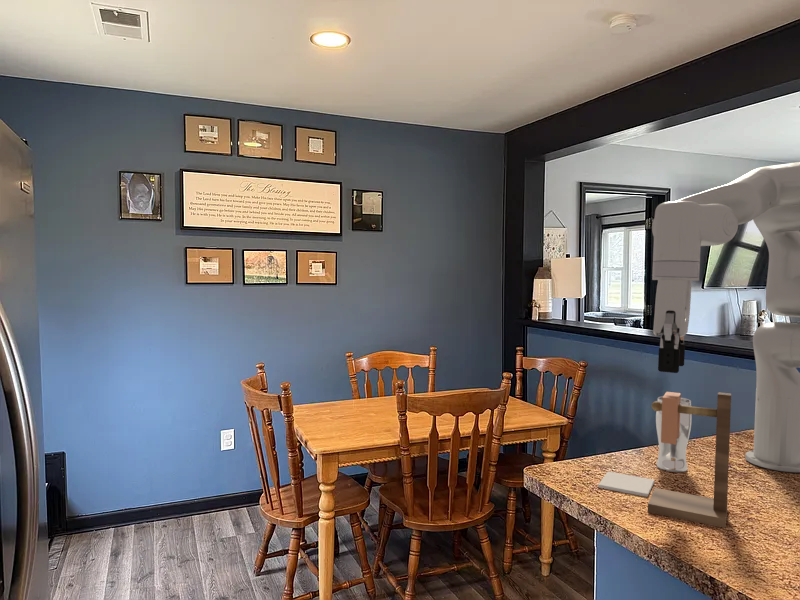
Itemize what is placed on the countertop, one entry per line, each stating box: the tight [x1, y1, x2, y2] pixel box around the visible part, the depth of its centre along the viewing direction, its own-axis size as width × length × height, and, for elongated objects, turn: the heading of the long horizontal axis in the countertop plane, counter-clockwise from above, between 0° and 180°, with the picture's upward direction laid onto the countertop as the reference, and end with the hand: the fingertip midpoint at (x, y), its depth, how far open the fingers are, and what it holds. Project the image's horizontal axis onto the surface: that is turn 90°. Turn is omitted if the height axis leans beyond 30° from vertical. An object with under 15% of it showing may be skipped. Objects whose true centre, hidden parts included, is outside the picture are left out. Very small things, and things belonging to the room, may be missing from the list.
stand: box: [647, 391, 732, 529], centre depth 103 cm, size 9×12×22 cm
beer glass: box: [655, 395, 692, 473], centre depth 126 cm, size 7×7×15 cm
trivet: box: [597, 471, 655, 498], centre depth 115 cm, size 9×9×1 cm
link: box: [661, 391, 682, 445], centre depth 104 cm, size 6×2×8 cm, turn 149°
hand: (671, 368), depth 103 cm, fingers open, 9 cm apart
